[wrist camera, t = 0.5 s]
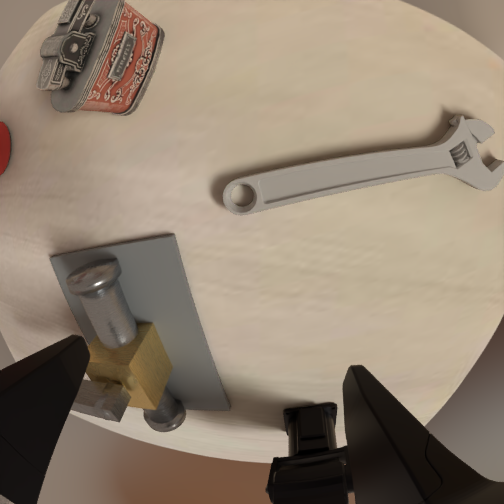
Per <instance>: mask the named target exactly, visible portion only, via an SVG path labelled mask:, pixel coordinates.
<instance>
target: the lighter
mask: <svg viewBox="0 0 504 504" xmlns="http://www.w3.org/2000/svg"><path fill="white" fill-rule="evenodd" d="M57 24H58V26H57V28H56V30H55V32H54V34H53V35H52V36H51V37H48V38H47V39H46V40H45V41H44V42H43V44H42V47H41V50H40V55H41V57H42V58H43V64H42V67H41V70H40V73H39V76H38V80H37V84H36V86H37V89H39V90H48V91H52V93H51V103H52V106H53V108H54V109H55V110H56V111H59V112H75V111H77V110H87V111H102V112H111V113H112V114H115V115H123V116H126V115H130V114H132V113H133V112H134V111H136V109H137V108H138V106H139V104H140V102H141V100H142V98H143V96H144V94H145V93H146V91H147V88H148V86H149V84H150V81H151V79H152V77H153V74H154V72H155V69H156V66H157V63H158V60H159V57H160V54H161V50H162V45H163V41H164V37H165V33H164V31H163V29H162V28H161V27H160V26H158V25H157V24H155V23H151V22H150V21H149V20H148V19H146V18H145V17H144V16H143V15H141V14H140V13H139V12H138V11H136V10H135V9H134V8H132V7H131V6H130V5H129V4H127V3H126V2H125V0H69V1H68V3H67V5H66V6H65V8H64V10H63V12H62V15H61V17H60V19H59V21H58V23H57Z"/></svg>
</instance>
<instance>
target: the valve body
mask: <svg viewBox="0 0 504 504" xmlns="http://www.w3.org/2000/svg"><path fill="white" fill-rule="evenodd" d="M121 273H122V269H121V266H120V264H119V261H118V259H117V258H114V259H101V260H97V261H93V262H89V263H87V264H85V265H83V266H81V267H79V268H77V269H76V270H74V271H73V272H72V273H70V274H69V275H68V277H67V278H66V284H67V286H68V288H69V291H70V293H71V294H72V295H77V296H79V298H80V300H81V302H82V304H83V307H84V309H85V311H86V313H87V315H88V317H89V319H90V321H91V323H92V325H93V327H94V329H95V331H96V333H97V335H96V337H95V338H94V339H93V341H92V342H91V343H90V344H89V346H88V349H89V352H90V361H89V363H88V366H87V369H86V374H87V375H88V377H89V378H90V380H91V381H96V382H102V383H108V382H111V383H114V384H116V385H123V386H124V387H125V388H126V390H127V392H128V393H129V394H130V396H131V399H130V401H129V403H128V405H127V406H130V407H136V408H142V409H143V410H144V419H145V421H146V422H147V423H148V425H149V426H150V427H151V428H152V429H154V430H156V431H159V432H168V431H172V430H174V429H176V428H178V427H179V426H180V425H181V424H182V423H183V422H184V420H185V418H186V409H185V407H184V405H183V403H182V402H181V400H179V399H174V397H173V396H172V394H171V392H170V390H169V389H168V387H167V385H166V384H167V381H168V379H169V376H170V374H171V371H172V369H173V366H172V364H171V362H170V359H169V357H168V355H167V353H166V351H165V349H164V346H163V344H162V342H161V340H160V337H159V335H158V333H157V330H156V328H155V325H154V323H136V322H135V320H134V318H133V315H132V313H131V311H130V308H129V306H128V303H127V301H126V298H125V296H124V293H123V291H122V288H121V286H120V283H119V280H118V278H119V276H120V275H121Z"/></svg>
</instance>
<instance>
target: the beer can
mask: <svg viewBox="0 0 504 504" xmlns="http://www.w3.org/2000/svg"><path fill="white" fill-rule="evenodd" d="M10 152H11V139H10V133H9V130H8V128H7V126H6V125H5V124H4V123H3V122H0V175H1V174H2V173H3V172H4V171H5V169H6V167H7V165H8V162H9V158H10Z"/></svg>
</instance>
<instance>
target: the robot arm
mask: <svg viewBox="0 0 504 504" xmlns="http://www.w3.org/2000/svg"><path fill="white" fill-rule="evenodd" d="M89 361H90V352H89V349H88V347H87V344H86V342H85V339H84V338H83V337H82V336H79V335H71V336H69V337H67V338H65V339H63V340H61V341H59V342H57V343H55V344H53V345H51V346H49V347H46V348H44V349H42V350H40V351H38V352H36V353H34V354H32V355H30V356H28V357H26V358H24V359H22V360H20V361H18V362H16V363H14V364H12V365H10V366H8V367H6V368H4V369H2V370H0V504H9V501H11V502H13V503H14V504H37V501H38V498H39V494H40V491H41V487H42V484H43V481H44V478H45V474H46V471H47V469H48V466H49V463H50V460H51V457H52V454H53V452H54V449H55V446H56V443H57V441H58V438H59V436H60V433H61V431H62V429H63V426H64V424H65V421H66V419H67V417H68V414H69V412H70V410H71V407H72V405H73V403H74V401H75V398H76V396H77V394H78V391H79V389H80V386H81V383H82V380H83V377H84V374H85V372H86V369H87V366H88V363H89ZM343 404H344V423H345V433H346V440H347V446H344V447H341V448H337V443H336V436H335V425H336V416H337V404H327V405H320V406H312V407H303V408H293V409H285V410H284V411H283V414H284V421H285V427H286V433H287V435H288V436H289V457H280V458H279V457H274V458H273V463H272V464H271V469H270V474H269V480H268V484H267V487H266V493H268V494H269V497H270V500H271V502H272V503H273V504H349V499H348V493H353V492H354V494H355V503H356V504H504V482H496V481H492V480H489V479H487V478H485V477H483V476H482V475H480V474H479V473H477V472H476V471H475V470H474V469H472V468H471V467H470V466H468V465H467V464H466V463H464V462H463V461H462V460H460V459H459V458H458V457H457V456H455V455H454V454H453V453H452V452H451V451H449V450H448V449H447V448H446V447H445V446H444V445H443V444H442V443H441V442H440V441H438V440H437V439H436V438H435V437H434V436H433V435H432V434H431V433H430V434H429V431H428V430H427V429H426V428H425V427H424V426H423V425H422V424H421V423H420V422H419V421H418V420H417V419H416V418H415V417H414V416H413V415H412V414H411V413H410V412H409V411H408V410H407V409H406V408H405V407H404V406H403V405H402V404H401V403H400V402H399V401H398V400H397V399H396V398H395V397H394V396H393V395H392V394H391V393H390V392H389V391H388V390H387V389H386V388H385V387H384V386H383V385H382V384H381V383H380V382H379V381H378V380H377V379H376V378H375V377H374V376H373V375H372V374H371V373H370V372H369V371H368V370H367V369H366V368H365V367H364V366H362V365H351V366H350V367H349V368H348V371H347V373H346V376H345V379H344V382H343ZM344 464H346V465H344Z"/></svg>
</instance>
